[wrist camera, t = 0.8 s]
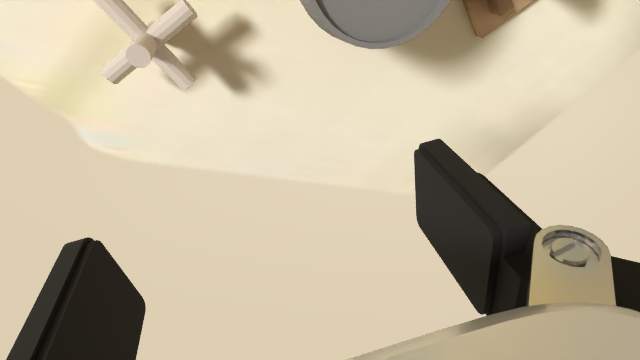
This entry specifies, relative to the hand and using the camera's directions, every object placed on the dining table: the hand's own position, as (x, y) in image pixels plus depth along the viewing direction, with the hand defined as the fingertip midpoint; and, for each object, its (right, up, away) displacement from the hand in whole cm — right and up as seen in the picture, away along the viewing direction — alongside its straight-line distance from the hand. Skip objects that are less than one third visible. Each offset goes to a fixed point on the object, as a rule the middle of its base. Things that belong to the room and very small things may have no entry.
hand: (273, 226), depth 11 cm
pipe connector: (-15, +17, +27) cm, 35 cm away
